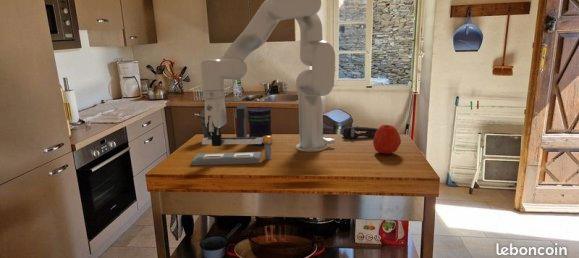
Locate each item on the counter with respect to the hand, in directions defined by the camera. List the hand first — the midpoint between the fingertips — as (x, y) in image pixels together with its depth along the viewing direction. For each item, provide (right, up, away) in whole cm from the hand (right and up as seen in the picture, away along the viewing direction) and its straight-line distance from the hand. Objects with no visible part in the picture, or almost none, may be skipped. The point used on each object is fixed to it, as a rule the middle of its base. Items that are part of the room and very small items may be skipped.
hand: (216, 145), depth 141 cm
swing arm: (+7, +1, +3) cm, 8 cm away
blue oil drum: (+14, -1, +27) cm, 30 cm away
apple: (+63, -3, +9) cm, 64 cm away
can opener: (+59, +2, +33) cm, 67 cm away
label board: (+5, -5, +3) cm, 8 cm away
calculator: (+5, +1, +36) cm, 37 cm away
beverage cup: (-9, 0, +33) cm, 35 cm away
